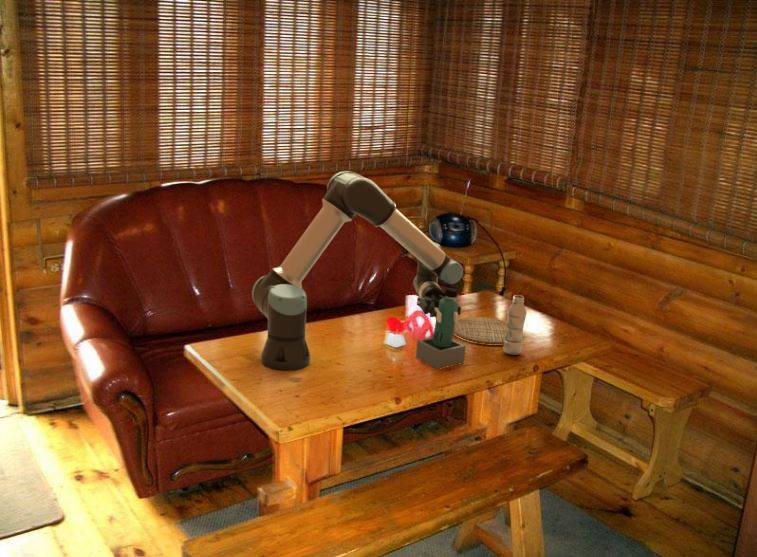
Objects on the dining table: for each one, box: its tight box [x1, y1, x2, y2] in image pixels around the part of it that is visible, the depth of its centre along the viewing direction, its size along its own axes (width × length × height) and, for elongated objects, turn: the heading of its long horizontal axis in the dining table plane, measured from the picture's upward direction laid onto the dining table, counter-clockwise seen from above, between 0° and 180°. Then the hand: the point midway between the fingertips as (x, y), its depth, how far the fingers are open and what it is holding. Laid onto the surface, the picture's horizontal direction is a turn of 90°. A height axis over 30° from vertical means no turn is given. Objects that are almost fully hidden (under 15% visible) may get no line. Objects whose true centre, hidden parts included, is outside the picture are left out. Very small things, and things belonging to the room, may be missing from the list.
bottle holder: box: [415, 337, 466, 370], centre depth 263 cm, size 11×11×6 cm
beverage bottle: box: [431, 287, 460, 347], centre depth 260 cm, size 6×7×20 cm
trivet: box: [453, 316, 507, 344], centre depth 292 cm, size 25×25×2 cm
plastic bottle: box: [502, 294, 527, 356], centre depth 271 cm, size 6×7×20 cm
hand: (448, 318), depth 255 cm, fingers closed on beverage bottle, 5 cm apart
